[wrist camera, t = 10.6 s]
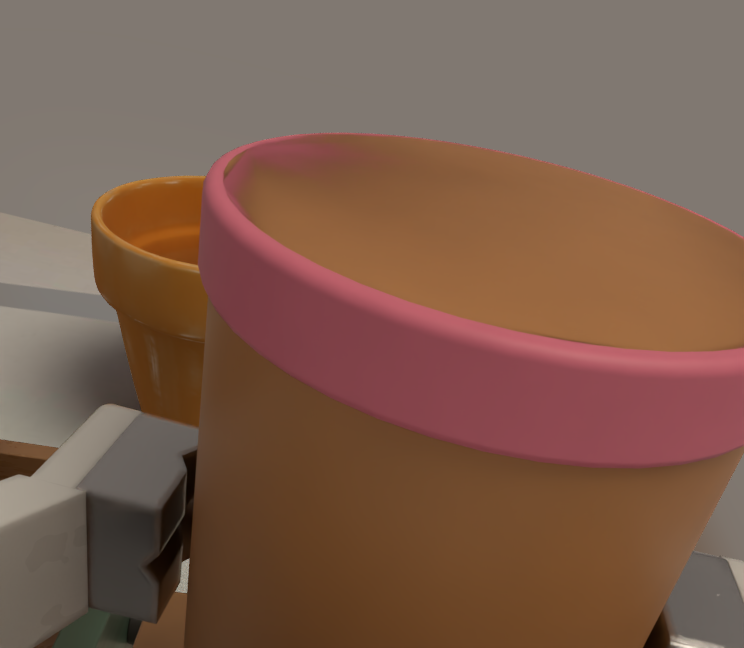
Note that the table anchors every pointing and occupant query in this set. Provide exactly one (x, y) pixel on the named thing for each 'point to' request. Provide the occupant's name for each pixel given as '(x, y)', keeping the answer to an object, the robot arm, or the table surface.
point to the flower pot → (156, 287)
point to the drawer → (96, 628)
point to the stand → (165, 626)
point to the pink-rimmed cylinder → (453, 398)
